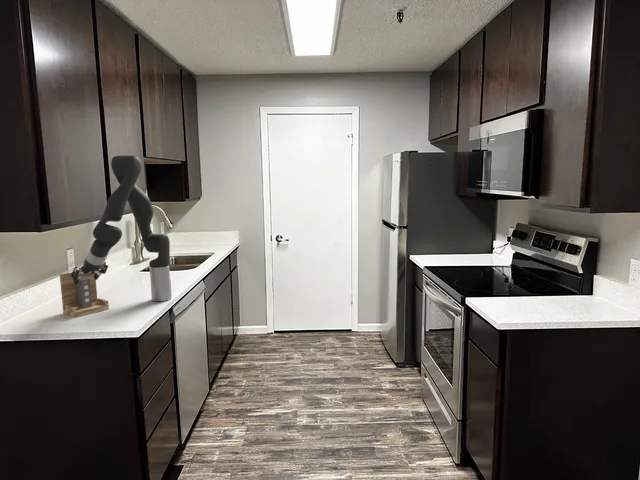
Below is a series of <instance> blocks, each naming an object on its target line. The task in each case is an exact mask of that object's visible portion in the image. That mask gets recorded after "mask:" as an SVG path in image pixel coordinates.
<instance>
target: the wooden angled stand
mask: <svg viewBox="0 0 640 480" xmlns="http://www.w3.org/2000/svg"><path fill="white" fill-rule="evenodd" d="M72 272H73V271H71V272H66V273H61V274H59V282H60V292H61V302H62V303H61V304H62V313H63V314H64V315H66V316H70V317H73V318H79V317H83V316H86V315H87V316H88V315H91V314H95V313H98V312H103V311H107V310H110V306H109V305H110V303H109V300H107V299H103V298H100V297H98V291H97V290H98V289H97V282H96V281H97V280H95V279H94V275H95V273H93V274H88V275H86V276H85V277H82V278H88V279H90V285H91V297H92V307H88V308H84V309H83V308H80V307H78V301H77V290H76V284H75V283H74V281H73V278H72V276H71V273H72ZM82 273H83V274H85V273H84V272H83V271H82ZM79 276H80V274H79Z"/></svg>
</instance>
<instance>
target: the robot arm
mask: <svg viewBox="0 0 640 480" xmlns="http://www.w3.org/2000/svg"><path fill="white" fill-rule="evenodd" d="M110 164H111V165H110V166H111V170H112V172H113V174H114V176H115V178H116V180H117V182H118V184H119V185H118V186H117V188H116V189H115V190H114V191H113V193H111V194H110V196H109V197H108V199H107V202H106V204H105V208H104V212H103V214H102V216H101V218H100V219H99V221H98V223H97V224H96V225H95V226H94V228H93V230H92V235H93V238H94V239H95V240H94V241H93V242H92V244H91V246H90V248H89V250H88V252H87V254H86V256H85V257H84V258H85V259H84V261H83V265H82V266H81V267H78V266H75V267H73V270H72V271H71V272H72V273H71V272H70V273H71V276H72V278H73V281H74V283H75V284H78V282H79V280H80V278H82V277H85V276H86V275H88V274H93V273H95V275H94V279H95V280H96V281H98V279H99V278H100V276H102V274H103V275H104V274H105V275H106V273H107V271H108V268H109V265H108V264H107V263H108V262H106V260H107V257H108V255H109V252H110V251H111V250H112V248H113V247H114V246H116V245H117V244H118V243H119V242H120V241H121V239H122V237H123V232H122V229H121V228H120V227H119V226H118V227H117V226H116V225H115V226H114V225H110V224H107V223H108V222H114V223H118V222H121V221H122V218H123V216H124V215H123V214H124V212H125V208H126V205H127V202H128V205H129V207H130V210H131V213H132V215H133V217H134V219H135V222H136V224H137V227H138V230H139V233H140V237H141V240H142V243H143V246H144V248H145V250H146V251H147V252H148V253H157V257H156V258H153V259H151V260H150V261H149V263H148V264H149V278H150V280H149V281H150V294H151V296H150V297H151V301H152V302H155V301H161V302H167V301H169V300H171V299H172V296H173V295H172V279H171V272H170V259H171V258H170V257H171V255H170V254H171V253H170V252H171V251H170V250H171V245H170V244H171V243H170V238H169V236H168V235H167V234H163V233H153V230H152V228H151V223H152V220H153V218H154V211H155V210H154V207H153V205H152V202H151V199H150V198H149V196H148V195H147V194H146V193H145V191H143V190H142V189H141V188H140V187H139V186H138V185H137V184H136V183H137V181H138V179H139V178H140V177H139V176H140V174H141V172H142V168H143V167H142V161H141V159H140V157H138V156H136V155H115V156H113V157H112V159H111V162H110ZM82 271H83V272H84V273H85V274H83V273H82ZM79 274H80V276H79ZM166 300H167V301H166Z"/></svg>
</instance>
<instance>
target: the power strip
mask: <svg viewBox="0 0 640 480" xmlns="http://www.w3.org/2000/svg"><path fill="white" fill-rule="evenodd" d="M76 290H77V301H78V307H80V308H83V309H84V308H88V307H92V297H91V285H90V279H88V278H80V280H79V282H78V284H76Z"/></svg>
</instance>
